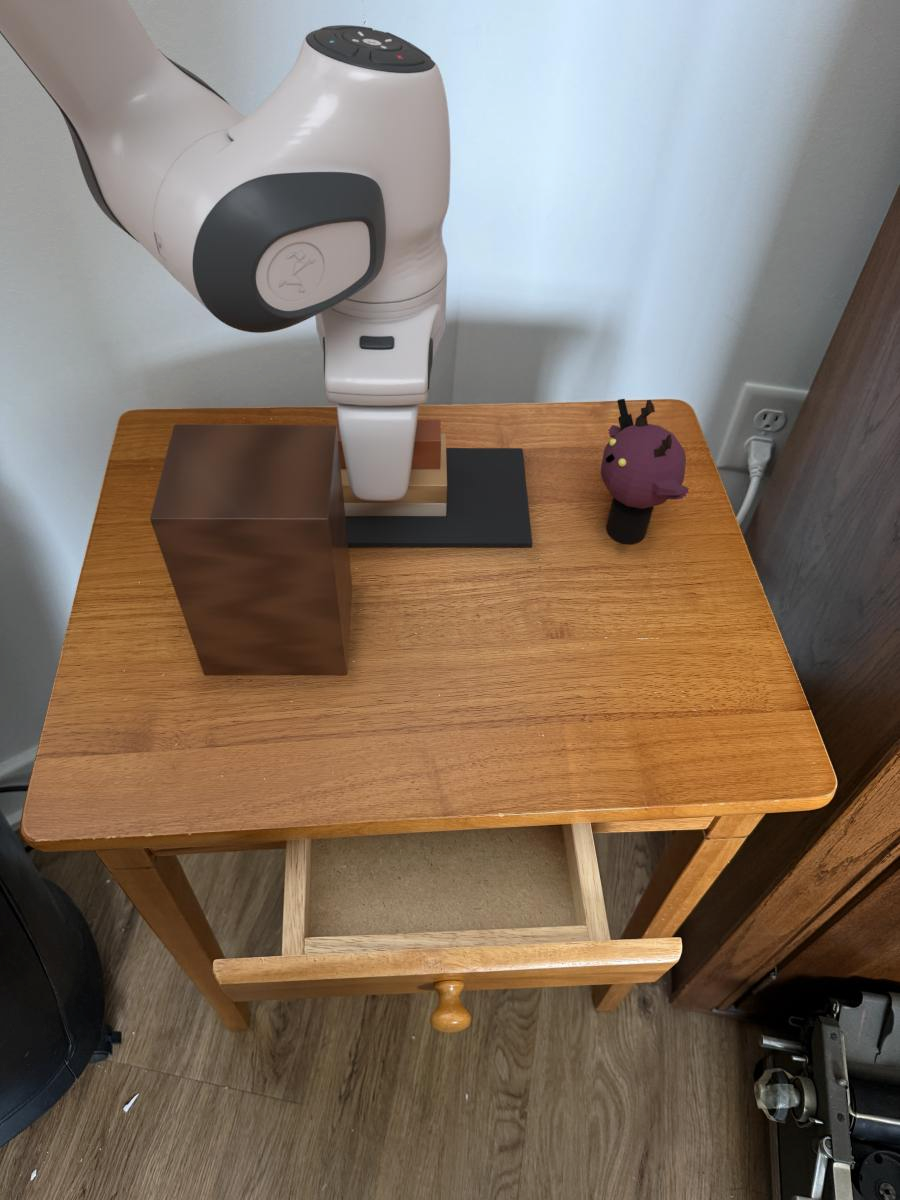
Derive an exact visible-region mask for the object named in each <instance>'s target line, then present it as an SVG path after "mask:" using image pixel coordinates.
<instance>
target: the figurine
mask: <svg viewBox="0 0 900 1200" xmlns="http://www.w3.org/2000/svg"><path fill="white" fill-rule="evenodd" d="M616 403H617V406H618V411H619V417H618V419H617V420H618V424H619V426H618V425H615V424H612V425H611V426H610V427H609V429H608V434H609V435H608V436H609V437H610V438H611V439H610V440H608V442H607V444H605V447H604V451H603V454H602V460H601V466H600V476H601V479H602V482H603V483H604V485H605V487H606V489H607V491H608V492H609V494H610V496H611V497H612V500H611V504H610V508H609V513H608V517H607V520H606V524H605V525H606V526H605V529H606V533H607V535H608V536H609V538H611V539H612V540H613V541H615V542H616V543H619V544H622V545H635V544H638V543H640V542H642V541H643V540H644V539H645V538H646V536H647V531H648V528H649V525H650V522H651V518H652V515H653V511H654V507H657V506H660V505H662V504H664V503H665V502H666V501H668V500H682V499H684V497H687V494H689V489H690V488H689V487H687V486H685V485H683V482H684V480H685V474H686V464H687V457H686V451H685V449H684V447H683V446H682V445H681V443H680V441H679V440H678V439H677V437H676V436H675V434H674V433H673V432H671V431H669V430H668V429H666V428H664V427H662V426H661V425H658V424H651V423H648V418H647V417H648V416H649V415H650V414H652V413H655V412H656V411H655V405H654V403H653V402H652V400H651V399H647V400H646V403H645V407H641V408H640V414H639V416H637V417H636V418H635V421H634V420H633V415H632V413H630V414H629V412H628V408H627V403H626V399H625V398H620V399H617V401H616Z"/></svg>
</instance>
